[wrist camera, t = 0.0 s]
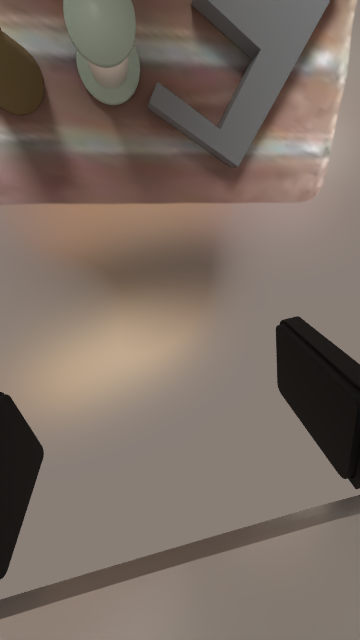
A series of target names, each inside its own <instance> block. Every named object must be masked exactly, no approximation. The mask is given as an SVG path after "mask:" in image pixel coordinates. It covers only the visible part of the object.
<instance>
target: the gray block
mask: <svg viewBox="0 0 360 640" xmlns="http://www.w3.org/2000/svg"><path fill="white" fill-rule="evenodd" d="M329 2H330V0H192V3H191V5H192V6H193V7H194V8H196V9H197V10H198V11H199V12H200V13H201V14H202V15H203V16H204V17H205V18H207V19H208V20H209V21H210V22H211V23H212V24H213V25H214V26H215V27H217V28H218V29H219V30H220V31H221V32H222V33H223V34H224V35H225V36H226V37H228V38H229V39H230V40H231V41H232V42H233V43H234V44H235V45H236V46H238V47H239V48H240V49H241V50H242V51H243V52H244V53H245V54H246V55H247V56H249V57H250V58H251V61H250V63H249V65H248V67H247V69H246V71H245V73H244V75H243V77H242V79H241V81H240V83H239V85H238V87H237V89H236V91H235V93H234V95H233V97H232V99H231V101H230V103H229V105H228V107H227V109H226V111H225V113H224V115H223V117H222V119H221V121H220V123H219V124H218V126H215V125H214V124H213V123H211V122H210V121H209V120H208V119H206V118H205V117H204V116H202V115H201V114H200V113H198V112H197V111H196V110H194V109H193V108H192V107H190V106H189V105H188V104H186V103H185V102H184V101H182V100H181V99H180V98H178V97H177V96H176V95H174V94H173V93H172V92H170V91H169V90H168V89H166V88H165V87H164V86H162V85H161V84H160V83H158V82H157V84H156V87H155V89H154V91H153V94H152V96H151V99H150V101H149V104H148V109H149V110H151V111H152V112H154V113H155V114H157V115H158V116H159V117H161V118H162V119H164V120H165V121H166V122H168V123H169V124H171V125H172V126H173V127H175V128H176V129H178V130H179V131H181V132H182V133H183V134H185V135H186V136H188V137H189V138H190V139H192V140H193V141H195V142H196V143H197V144H199V145H200V146H202V147H203V148H205V149H206V150H207V151H209V152H210V153H212V154H213V155H214V156H216V157H217V158H219V159H220V160H221V161H223V162H224V163H226V164H227V165H229V166H230V167H231V168H233V167H239V165H240V163H241V161H242V159H243V157H244V156H245V154H246V152H247V150H248V148H249V147H250V145H251V143H252V141H253V139H254V138H255V136H256V134H257V132H258V130H259V129H260V127H261V125H262V123H263V121H264V119H265V118H266V116H267V114H268V112H269V110H270V109H271V107H272V105H273V103H274V101H275V100H276V98H277V96H278V94H279V92H280V91H281V89H282V87H283V85H284V83H285V81H286V80H287V78H288V76H289V74H290V72H291V71H292V69H293V67H294V65H295V63H296V62H297V60H298V58H299V56H300V54H301V53H302V51H303V49H304V47H305V45H306V43H307V42H308V40H309V38H310V36H311V34H312V33H313V31H314V29H315V27H316V25H317V24H318V22H319V20H320V18H321V16H322V15H323V13H324V11H325V9H326V7H327V6H328V4H329Z"/></svg>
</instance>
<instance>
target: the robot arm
mask: <svg viewBox="0 0 360 640" xmlns="http://www.w3.org/2000/svg"><path fill="white" fill-rule="evenodd" d="M276 347H277V379H278V381H277V382H278V388H279V391H280V392H281V394H282V396H283V397H284V399H285V400H286V401H287V403H288V404H289V405H290V407H291V408H292V410H293V411H294V412H295V414H296V415H297V417H298V418H299V419H300V421H301V422H302V423H303V425H304V426H305V428H306V429H307V431H308V432H309V433H310V435H311V436H312V437H313V439H314V440H315V442H316V443H317V444H318V446H319V447H320V449H321V450H322V451H323V453H324V454H325V456H326V457H327V458H328V460H329V461H330V463H331V464H332V465H333V466H334V468H335V469H336V471H337V472H338V474H339V475H340V476H341V477H342V478H344V479H347V478H348V479H349V480H350V482H351V483H352V485H353V486H354V487H355V489H359V488H360V364H358V363H357V362H356V361H355V360H353V359H352V358H351V357H350V356H348V355H347V354H346V353H344V352H343V351H342V350H341V349H339V348H338V347H337V346H336V345H334V344H333V343H332V342H331V341H329V340H328V339H327V338H325V337H324V336H323V335H322V334H320V333H319V332H318V331H316V330H315V329H314V328H313V327H311V326H310V325H309V324H308V323H306V322H305V321H304V320H303V319H301V318H300V317H293V318H289V319H285V320H282V321H281V322H280V325H278V326H277V327H276ZM43 454H44V453H43V448H42V445H41V444H40V442H39V441H38V439H37V438H36V436H35V435H34V433H33V431H32V430H31V428H30V427H29V425H28V424H27V422H26V421H25V419H24V417H23V416H22V414H21V413H20V411H19V410H18V408H17V406H16V405H15V404H14V402H13V400H12V399H11V397H10V396H9V395H5V394H4V393H2V392H0V579H2V578H3V577H4V576H5V574H6V572H7V570H8V567H9V563H10V560H11V557H12V554H13V551H14V548H15V545H16V542H17V538H18V535H19V532H20V528H21V526H22V522H23V519H24V516H25V513H26V510H27V507H28V504H29V501H30V497H31V494H32V491H33V488H34V485H35V482H36V479H37V476H38V472H39V469H40V466H41V463H42V460H43ZM0 640H360V495H358V496H354V497H351V498H347V499H343V500H339V501H336V502H332V503H328V504H324V505H321V506H317V507H313V508H310V509H306V510H303V511H299V512H296V513H293V514H289V515H285V516H282V517H279V518H275V519H272V520H269V521H265V522H261V523H258V524H254V525H251V526H248V527H244V528H241V529H237V530H234V531H230V532H227V533H223V534H220V535H216V536H213V537H210V538H206V539H203V540H199V541H196V542H192V543H189V544H186V545H182V546H179V547H176V548H172V549H169V550H165V551H162V552H158V553H155V554H152V555H148V556H145V557H141V558H138V559H135V560H131V561H128V562H125V563H121V564H118V565H114V566H111V567H108V568H104V569H101V570H98V571H94V572H91V573H87V574H84V575H81V576H77V577H74V578H71V579H68V580H64V581H61V582H58V583H54V584H51V585H47V586H44V587H41V588H38V589H34V590H31V591H28V592H24V593H21V594H18V595H14V596H11V597H8V598H5V599H1V600H0Z"/></svg>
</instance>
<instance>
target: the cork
mask: <svg viewBox="0 0 360 640" xmlns="http://www.w3.org/2000/svg"><path fill="white" fill-rule="evenodd" d="M43 94H44V80H43V76H42V73H41V70H40V68H39V66H38V64H37V63H36V61H35V59H34V58H33V56H32V55H31V54H30V53H29V52H28V51H27V50H26V49H25V48H23V47H22V46H21V45H19V44H18V43H17V42H16V41H14V40H13V39H12V38H10V37H9V36H8V35H6V34H5V33H4V32H2V31H1V28H0V107H1V108H2V109H4V110H6V111H8V112H10V113H12V114H18V115H24V114H29V113H31V112H33V111H34V110H36V109H37V108H38V106H39V105H40V103H41V102H42V99H43Z"/></svg>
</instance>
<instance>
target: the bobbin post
mask: <svg viewBox="0 0 360 640" xmlns="http://www.w3.org/2000/svg"><path fill="white" fill-rule="evenodd" d="M63 12H64V19H65V24H66V27H67V30H68V32H69V35H70V37H71V40H72V42H73V44H74V45H75V47H76V49H77V50H76V62H77V68H78V72H79V75H80V77H81V80H82V82H83V84H84V86H85V87H86V89H87V90H88V92H89V93H90V94H91V95H92V96H93V97H94V98H95V99H97V100H98V101H100V102H101V103H104V104H107V105H113V106H114V105H121V104H123V103H125V102H127V101H128V100H129V99H130V98H131V97H132V96H133V94H134V93H135V91H136V89H137V86H138V83H139V77H140V62H139V56H138V53H137V50H136V48H135V45H134V41H135V33H136V19H135V12H134V7H133V4H132V1H131V0H63Z"/></svg>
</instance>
